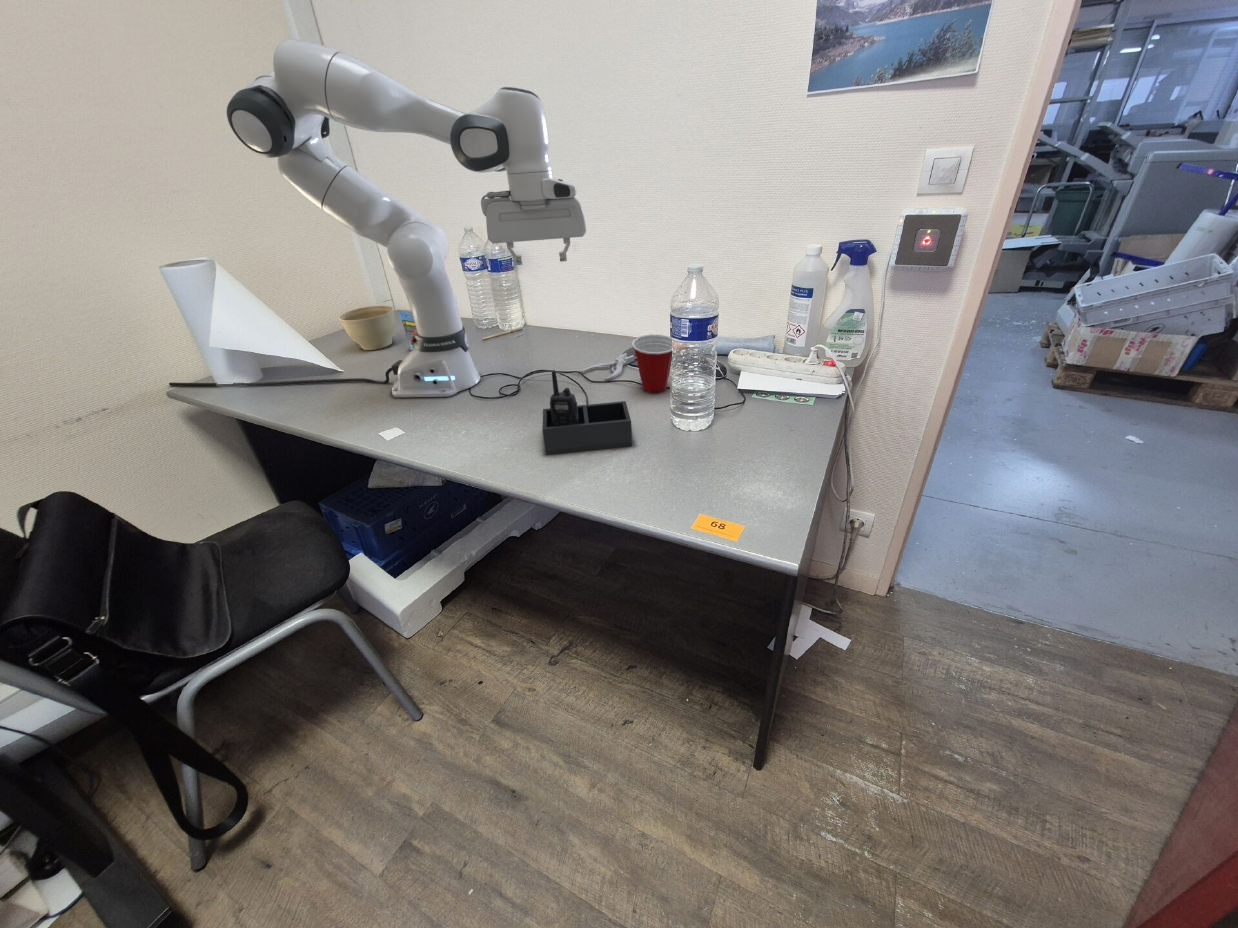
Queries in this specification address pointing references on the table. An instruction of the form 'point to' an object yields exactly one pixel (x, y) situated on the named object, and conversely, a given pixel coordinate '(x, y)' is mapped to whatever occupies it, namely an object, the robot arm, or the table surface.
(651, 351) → the plastic cup
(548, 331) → the table surface
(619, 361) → the pliers
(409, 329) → the tape cartridge
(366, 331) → the planter bowl
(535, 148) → the robot arm
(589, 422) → the box
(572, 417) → the two-way radio
